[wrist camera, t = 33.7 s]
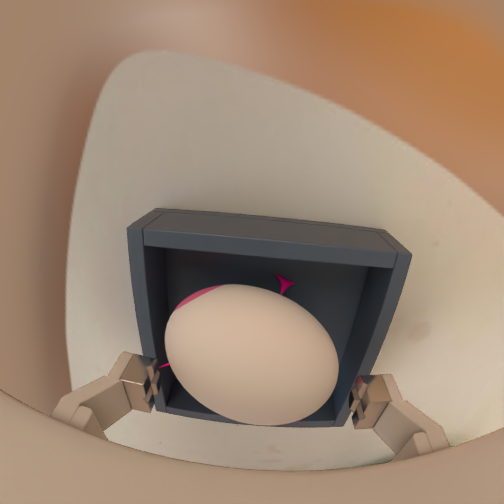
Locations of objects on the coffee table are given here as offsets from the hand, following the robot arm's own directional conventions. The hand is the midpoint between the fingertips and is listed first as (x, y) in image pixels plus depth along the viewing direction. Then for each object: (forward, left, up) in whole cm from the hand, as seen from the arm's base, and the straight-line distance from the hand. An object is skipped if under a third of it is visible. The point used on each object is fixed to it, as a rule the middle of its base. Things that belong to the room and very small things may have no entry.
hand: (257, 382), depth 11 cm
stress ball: (0, 0, -4) cm, 4 cm away
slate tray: (0, 0, -4) cm, 4 cm away
